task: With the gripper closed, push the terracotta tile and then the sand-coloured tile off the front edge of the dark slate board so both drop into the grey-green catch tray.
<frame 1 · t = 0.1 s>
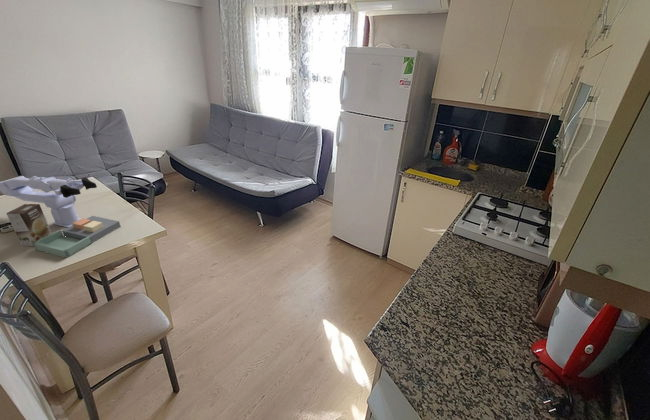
hand: (87, 188, 131), 22 cm above the table, tool horizontal, fingers open, 7 cm apart
coffee box: (38, 240, 131), on the table
board: (93, 231, 139), on the table
tray: (64, 246, 128), on the table
tile 2: (94, 228, 136), point 3 cm above the table, touching board
tile 1: (83, 226, 137), point 3 cm above the table, touching board
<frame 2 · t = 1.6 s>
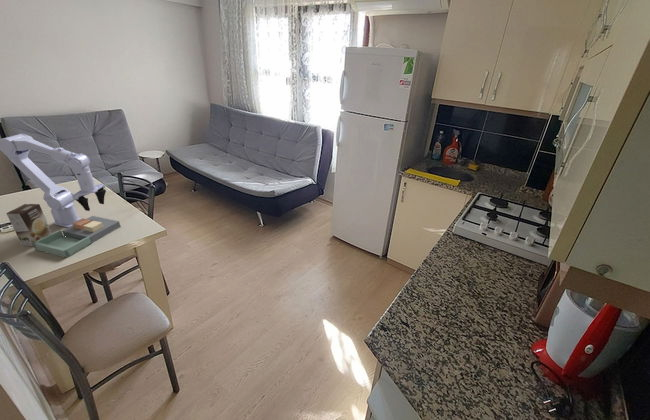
hand: (94, 206, 141), 9 cm above the table, tool pointing down, fingers open, 7 cm apart
nothing on the table moved.
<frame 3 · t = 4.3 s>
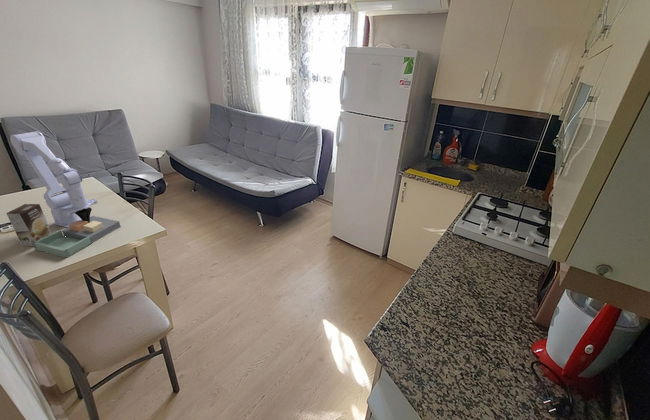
hand: (87, 222, 139), 4 cm above the table, tool pointing down, fingers closed
tile 1: (80, 227, 136), point 3 cm above the table, touching gripper
everything else where it was.
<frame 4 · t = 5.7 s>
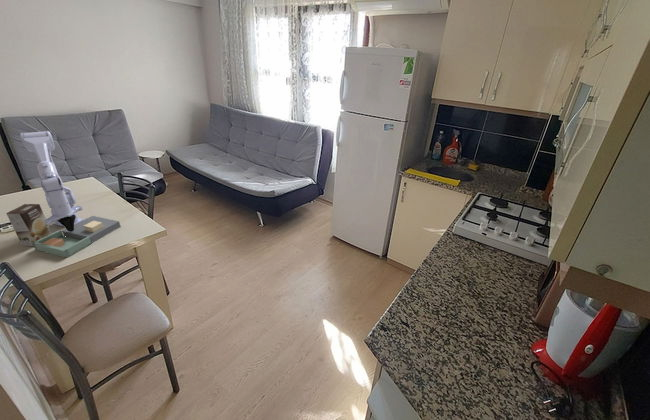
hand: (71, 230, 132), 4 cm above the table, tool pointing down, fingers closed
tile 1: (52, 241, 125), point 3 cm above the table, tilted 180°, touching tray
everything else where it was.
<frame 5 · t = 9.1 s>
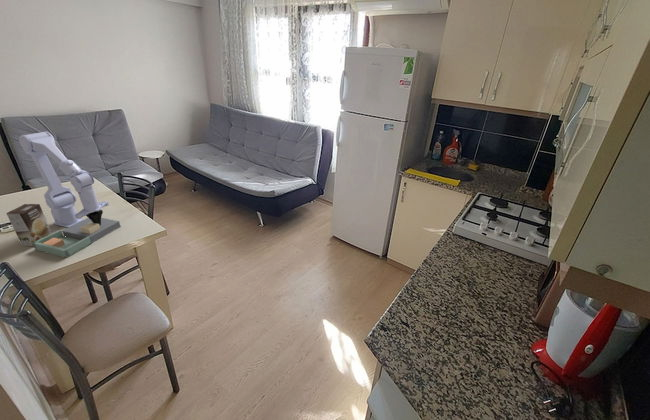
hand: (98, 225, 137), 4 cm above the table, tool pointing down, fingers closed
tile 2: (91, 230, 135), point 3 cm above the table, touching gripper
everything else where it was.
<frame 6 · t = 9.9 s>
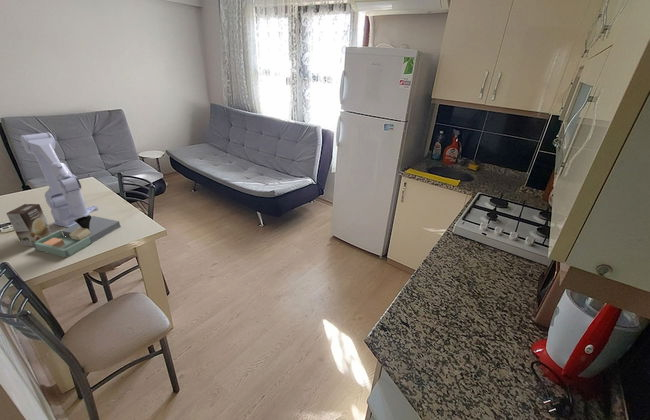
hand: (86, 230, 133), 4 cm above the table, tool pointing down, fingers closed
tile 2: (81, 235, 131), point 3 cm above the table, tilted 13°, touching board, gripper
everything else where it was.
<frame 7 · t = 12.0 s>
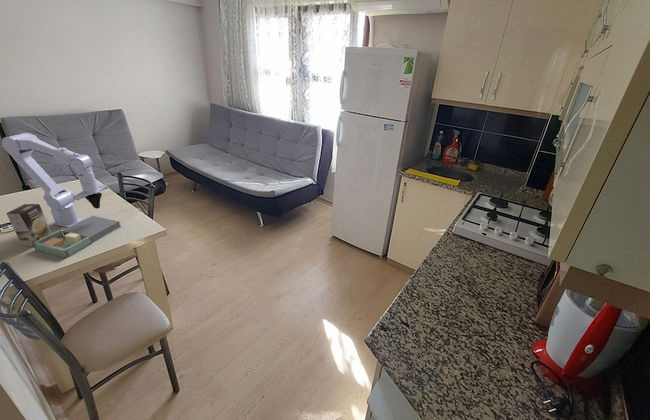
hand: (97, 207, 141), 9 cm above the table, tool pointing down, fingers closed
tile 2: (76, 238, 129), point 3 cm above the table, tilted 90°, touching tray
everything else where it was.
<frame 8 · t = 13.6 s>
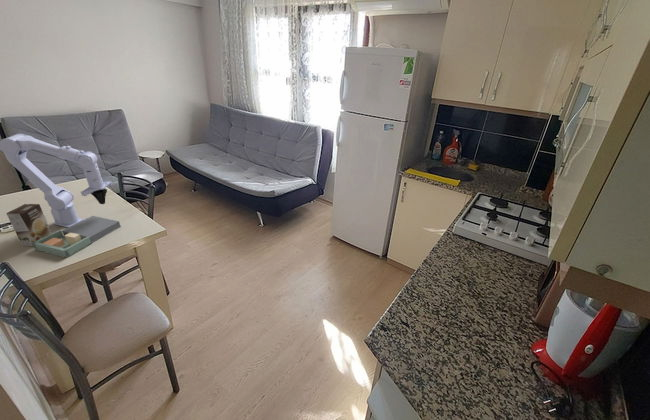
hand: (102, 203, 145), 9 cm above the table, tool pointing down, fingers closed
nothing on the table moved.
at the end: tile 1 inside the target area on the tray (3.8 cm from its centre), point 3.0 cm above the tray's base; tile 2 inside the target area on the tray (4.8 cm from its centre), point 3.0 cm above the tray's base; coffee box moved 0.2 cm from its start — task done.
